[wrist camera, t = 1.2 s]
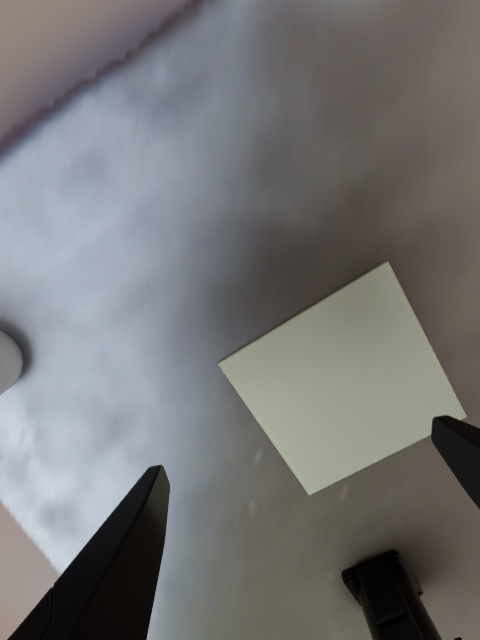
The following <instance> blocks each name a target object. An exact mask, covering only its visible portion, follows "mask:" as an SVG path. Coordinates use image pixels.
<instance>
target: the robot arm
mask: <svg viewBox="0 0 480 640" xmlns="http://www.w3.org/2000/svg"><path fill="white" fill-rule="evenodd" d="M431 439H432V442H433V444H434V446H435V447H436V449H437V450H438V452H439V453H440V454H441V456H442V457H443V459H444V460H445V462H446V463H447V465H448V466H449V468H450V469H451V471H452V472H453V474H454V475H455V477H456V478H457V480H458V481H459V482H460V484H461V485H462V487H463V488H464V490H465V491H466V492H467V494H468V495H469V496H470V498H471V499H472V500H473V501H474V503H475V504H476V505H477V506H478V508H479V509H480V429H479V428H477V427H475V426H472V425H470V424H468V423H465V422H463V421H461V420H458V419H456V418H454V417H451V416H448V415H442V416H436V417H434V418H433V419H432V428H431ZM169 493H170V484H169V480H168V478H167V475H166V472H165V469H164V467H163V466H162V465H156V466H151V467H149V468H148V469H147V470H146V472H145V473H144V474H143V475H142V477H141V478H140V479H139V480H138V481H137V483H136V484H135V485H134V486H133V488H132V489H131V490H130V491H129V492H128V494H127V495H126V496H125V497H124V499H123V500H122V501H121V502H120V504H119V505H118V506H117V507H116V508H115V510H114V511H113V512H112V513H111V515H110V516H109V517H108V518H107V519H106V521H105V522H104V523H103V524H102V526H101V527H100V528H99V529H98V531H97V532H96V533H95V534H94V535H93V537H92V538H91V539H90V540H89V542H88V543H87V544H86V545H85V546H84V548H83V549H82V550H81V551H80V553H79V554H78V555H77V556H76V558H75V559H74V560H73V561H72V562H71V564H70V565H69V566H68V567H67V569H66V570H65V571H64V572H63V573H62V575H61V576H60V577H59V578H58V580H57V581H56V582H55V583H54V586H53V587H52V588H50V589H49V591H48V592H47V593H46V594H45V595H44V597H43V598H42V599H41V600H40V602H39V603H38V604H37V605H36V606H35V608H34V609H33V610H32V611H31V612H30V614H29V615H28V616H27V617H26V618H25V620H24V621H23V622H22V623H21V624H20V626H19V627H18V628H17V629H16V630H15V631H14V633H13V634H12V635H11V636H10V637H9V638H8V639H7V640H146V639H147V634H148V628H149V623H150V618H151V613H152V607H153V602H154V597H155V592H156V586H157V581H158V576H159V571H160V565H161V560H162V555H163V549H164V543H165V534H166V524H167V514H168V503H169ZM342 579H343V582H344V583H345V585H346V586H347V588H348V589H349V590H350V592H351V593H352V594H353V596H354V597H355V599H356V600H357V601H358V603H359V604H360V606H361V607H362V610H363V613H364V616H365V618H366V621H367V624H368V627H369V630H370V633H371V636H372V639H373V640H442V639H441V637H440V635H439V633H438V631H437V629H436V628H435V626H434V624H433V622H432V620H431V618H430V616H429V614H428V612H427V610H426V608H425V607H424V605H423V603H422V601H421V599H420V596H422V595H423V590H422V589H421V587H420V585H419V584H418V582H417V581H416V579H415V578H414V576H413V574H412V573H411V571H410V570H409V568H408V567H407V565H406V564H405V562H404V560H403V559H402V557H401V556H400V554H399V553H398V552H397V551H391V552H389V553H387V554H385V555H382V556H380V557H378V558H376V559H373V560H371V561H369V562H367V563H365V564H362V565H360V566H358V567H356V568H353V569H351V570H349V571H347V572H344V573H343V574H342ZM454 640H462V639H461V637H458V638H455V639H454Z"/></svg>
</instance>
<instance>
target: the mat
mask: <svg viewBox="0 0 480 640" xmlns="http://www.w3.org/2000/svg"><path fill="white" fill-rule="evenodd" d="M218 365H219V367H220V368H221V369H222V371H223V372H224V374H225V375H226V377H227V378H228V379H229V381H230V382H231V384H232V385H233V387H234V388H235V390H236V391H237V392H238V394H239V395H240V397H241V398H242V400H243V401H244V402H245V404H246V405H247V407H248V408H249V410H250V411H251V413H252V414H253V415H254V417H255V418H256V420H257V421H258V423H259V424H260V425H261V427H262V428H263V430H264V431H265V433H266V434H267V435H268V437H269V438H270V440H271V441H272V443H273V444H274V446H275V447H276V448H277V450H278V451H279V453H280V454H281V456H282V457H283V458H284V460H285V461H286V463H287V464H288V466H289V467H290V469H291V470H292V471H293V473H294V474H295V476H296V477H297V479H298V480H299V481H300V483H301V484H302V486H303V487H304V489H305V490H306V491H307V493H308V494H309V495H311V494H313V493H315V492H317V491H319V490H321V489H323V488H325V487H327V486H329V485H331V484H333V483H335V482H337V481H339V480H341V479H343V478H345V477H347V476H349V475H351V474H353V473H355V472H357V471H359V470H361V469H363V468H365V467H367V466H369V465H371V464H373V463H375V462H377V461H379V460H381V459H383V458H385V457H387V456H389V455H391V454H393V453H395V452H397V451H399V450H401V449H403V448H405V447H407V446H409V445H411V444H413V443H415V442H417V441H419V440H421V439H423V438H425V437H427V436H429V435H431V428H432V419H433V418H434V417H436V416H442V415H448V416H451V417H454V418H456V419H458V420H461V419H463V418H465V417H467V416H466V414H465V412H464V410H463V408H462V406H461V404H460V403H459V401H458V399H457V397H456V395H455V393H454V391H453V389H452V387H451V385H450V383H449V381H448V379H447V377H446V375H445V373H444V371H443V369H442V367H441V365H440V363H439V361H438V359H437V357H436V355H435V353H434V351H433V349H432V347H431V345H430V343H429V341H428V339H427V337H426V335H425V333H424V331H423V329H422V327H421V325H420V323H419V321H418V320H417V318H416V316H415V314H414V312H413V310H412V308H411V306H410V304H409V302H408V300H407V298H406V296H405V294H404V292H403V290H402V288H401V286H400V284H399V282H398V280H397V278H396V276H395V274H394V272H393V270H392V268H391V266H390V264H389V262H384V263H382V264H381V265H379V266H377V267H376V268H374V269H372V270H371V271H369V272H367V273H366V274H364V275H363V276H361V277H359V278H358V279H356V280H354V281H353V282H351V283H349V284H348V285H346V286H344V287H343V288H341V289H339V290H338V291H336V292H334V293H333V294H331V295H329V296H328V297H326V298H324V299H323V300H321V301H319V302H318V303H316V304H314V305H313V306H311V307H309V308H308V309H306V310H304V311H303V312H301V313H299V314H298V315H296V316H295V317H293V318H291V319H290V320H288V321H286V322H285V323H283V324H281V325H280V326H278V327H276V328H275V329H273V330H271V331H270V332H268V333H266V334H265V335H263V336H261V337H260V338H258V339H256V340H255V341H253V342H251V343H250V344H248V345H246V346H245V347H243V348H241V349H240V350H238V351H236V352H235V353H233V354H231V355H230V356H228V357H226V358H225V359H223V360H222V361H220V362H218Z"/></svg>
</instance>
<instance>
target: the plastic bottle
mask: <svg viewBox="0 0 480 640" xmlns="http://www.w3.org/2000/svg"><path fill="white" fill-rule="evenodd" d="M22 367H23V355H22V352H21V349H20V348H19V346H18V344H17V343H16V342H15V341H14V339H13V338H11V337H10V336H9V335H8V334H6V333H4V332H3V331H0V395H1V394H2V393H4V392H5V391H6V390H8V389H9V388H10V387H11V386H13V385H14V384H15V383H16V381H17V380H18V378H19V376H20V374H21V371H22Z"/></svg>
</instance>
